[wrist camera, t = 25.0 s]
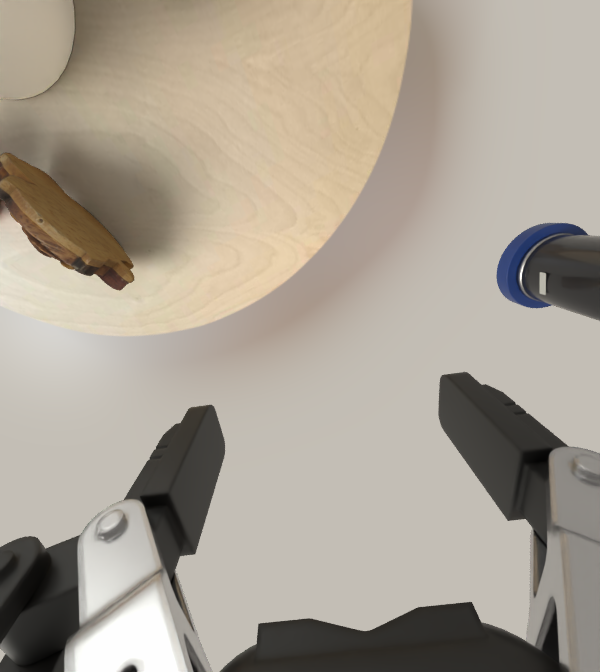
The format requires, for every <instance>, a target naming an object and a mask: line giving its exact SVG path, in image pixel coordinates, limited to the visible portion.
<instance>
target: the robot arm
mask: <svg viewBox="0 0 600 672" xmlns="http://www.w3.org/2000/svg"><path fill="white" fill-rule="evenodd" d="M516 281H517V286H518V288H519V290H520V291H521V293H522V294H523V295H525V296H526V297H528V298H530V299H533V300H536V301H541V302H545V303H548V304H551V305H554V306H556V307H560V308H563V309H566V310H569V311H572V312H575V313H578V314H581V315H584V316H587V317H590V318H593V319H596V320H600V236H590V235H574V234H567V233H557V234H552V235H549V236H546V237H544V238H542V239H540V240H539V241H537V242H536V243H534V244H533V245H532V246H531V247H530V248H529V249H528V250H527V251H526V253H525V254H524V255H523V257H522V259H521V260H520V263H519V265H518V268H517V273H516ZM439 391H440V392H439V419H440V423H441V426H442V428H443V430H444V431H445V433H446V434H447V436H448V437H449V438H450V440H451V441H452V443H453V444H454V445H455V447H456V448H457V450H458V451H459V453H460V454H461V455H462V457H463V458H464V459H465V461H466V462H467V464H468V465H469V467H470V468H471V469H472V471H473V472H474V473H475V475H476V476H477V478H478V479H479V481H480V482H481V483H482V485H483V486H484V488H485V489H486V490H487V492H488V493H489V495H490V496H491V497H492V499H493V500H494V502H495V503H496V505H497V506H498V507H499V509H500V510H501V511H502V513H503V514H504V516H505V517H506V519H507V520H508V521H510V520H518V519H526V520H527V521H528V522H529V524H530V525H531V526H532V530H531V536H530V538H531V539H530V543H531V544H530V608H529V619H528V627H527V636H526V641H525V640H523V639H522V638H520V637H518V636H516V635H514V634H511V633H510V632H508V631H505V630H503V629H501V628H498V627H495V626H492V625H489V624H486V623H481V621H480V619H479V617H478V615H477V612H476V610H475V608H474V606H473V604H472V602H467V603H456V604H446V605H438V606H427V607H418V608H416V609H414V610H412V611H410V612H408V613H406V614H404V615H402V616H399V617H398V618H395V619H393V620H391V621H389V622H387V623H385V624H383V625H381V626H379V627H377V628H375V629H373V630H370V631H360V630H355V629H351V628H347V627H343V626H339V625H335V624H331V623H327V622H322V621H318V620H314V619H299V620H290V621H280V622H271V623H260V624H259V625H258V635H257V644H256V645H254V646H252V647H250V648H248V649H247V650H245V651H244V652H242V653H241V654H239V655H238V656H236V657H235V658H234V659H233V660H232V661H231V662H229V663H228V664H227V665H226V666H225V667H224V668H223V669H222V670H221V671H220V672H600V454H599V453H597V452H594V451H591V450H587V449H583V448H578V447H569V446H567V445H566V444H565V443H563V442H562V441H561V440H560V439H559V438H558V437H556V436H555V435H554V434H553V433H552V432H550V431H549V430H548V429H547V428H545V427H544V426H543V425H541V424H540V423H539V422H538V421H537V420H536V419H534V418H533V417H532V416H531V415H530V414H527V413H526V411H525V410H524V409H522V408H521V407H520V406H519V405H516V404H515V402H514V401H513V400H511V399H510V398H509V397H508V396H507V395H505V394H504V393H503V392H501V391H499V390H496V389H495V388H492V387H490V386H488V385H486V384H485V385H481V384H480V383H479V382H478V381H477V380H475V379H474V378H473V377H472V376H471V375H470V374H468V373H467V372H463V373H454V374H447V375H442V377H441V378H440V390H439ZM224 455H225V441H224V437H223V434H222V431H221V427H220V424H219V421H218V418H217V414H216V411H215V408H214V407H213V406H212V405H206V406H199V407H191V408H189V409H188V411H187V413H186V414H185V416H184V418H183V420H182V421H181V423H179V424H175V425H174V426H173V427H172V428H171V429H169V430H168V431H167V432H166V433H165V434H164V435H163V437H162V438H161V440H160V441H159V443H158V445H157V446H156V450H154V451H153V453H152V455H151V457H150V460H148V461H147V463H146V464H145V466H144V468H143V469H142V471H141V472H140V474H139V476H138V477H137V479H136V481H135V482H134V484H133V485H132V487H131V489H130V490H129V492H128V494H127V496H126V497H125V499H124V500H123V501H119V502H117V503H114V504H112V505H110V506H109V507H107V508H106V509H104V510H103V511H101V512H100V513H99V514H97V515H96V516H95V517H94V518H93V519H92V520H91V521H90V522H89V523H88V525H87V526H86V527H85V529H84V530H83V532H82V533H81V535H79V536H76V537H74V538H71V539H69V540H66V541H64V542H61V543H59V544H56V545H54V546H51V547H49V548H46V549H45V547H44V546H43V545H42V543H41V542H40V541H39V539H38V538H36V537H31V536H29V537H23V538H19V539H16V540H14V541H12V542H9V543H7V544H5V545H4V546H2V547H0V649H1V650H3V652H4V653H6V654H5V656H4V658H3V659H2V661H1V663H0V672H212V669H211V667H210V664H209V662H208V659H207V657H206V655H205V652H204V650H203V648H202V645H201V642H200V640H199V637H198V634H197V631H196V628H195V625H194V622H193V619H192V617H191V613H190V610H189V607H188V604H187V601H186V599H185V596H184V593H183V590H182V587H181V584H180V581H179V578H178V575H177V573H176V571H175V569H176V566H177V563H178V560H179V557H180V556H184V555H193V554H195V553H196V549H197V546H198V543H199V539H200V536H201V533H202V529H203V526H204V523H205V519H206V516H207V513H208V509H209V506H210V503H211V499H212V496H213V493H214V489H215V486H216V482H217V479H218V476H219V473H220V469H221V466H222V462H223V459H224Z"/></svg>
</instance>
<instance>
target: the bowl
mask: <svg viewBox="0 0 600 672" xmlns="http://www.w3.org/2000/svg"><path fill="white" fill-rule="evenodd" d="M74 33H75V19H74V5H73V0H0V99H13V100H19V99H25V98H30V97H34V96H36V95H38V94H40V93H42V92H44V91H46V90H47V89H48V88H49V87H51V86H52V85H53V84H54V83H55V82H56V81H57V80H58V79H59V77H60V76H61V74H62V72H63V71H64V69H65V68H66V66H67V63H68V60H69V57H70V54H71V52H72V47H73V40H74Z"/></svg>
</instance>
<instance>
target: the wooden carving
mask: <svg viewBox="0 0 600 672" xmlns="http://www.w3.org/2000/svg"><path fill="white" fill-rule="evenodd" d="M0 199H1V200H3V201H5V203H6V206H7V208H8V210H9V211H10V214H11V216H12V217H13V218H14V219H15V220H16V221H17V222H18V223H20V224H21V225H22V229H23V232H24V233H25V234H26V235H27V237H28V239H29V241H30V242H31V243H32V245H33V246H34V247H35V248H36V249H37V250H38V252H40V253H41V254H43V255H45V256H48V257H53V258H55V259H57V260H59V261H60V263H61V264H62V265H63V266H64V267H66V268H68V269H75V270H76V271H77V272H79V273H81V274H84V275H87V276H91V275H93V274H97V275H98V276H99V277H100V278H101V279H102V280H103V281H104V282H105V283H106V284H107V285H109V286H110V287H112V288H113V289H116V290H121V289H123V288H124V287H125V286H126V285H127V284H128V283H131V282H133V281H134V275H133V273H132V272H131V270H130V269H132V268H133V267H134V265H133V263H132V261H131V260H130V258H129V257H128V256H127V254H126V253H125V251H124V250H123V249H122V247H121V246H120V245H119V243H118V242H117V241H116V240H115V238H114V237H113V236H112V235H111V234H110V233H109V232H108V231H107V230H106V228H105V227H104V226H103V225H102V224H101V223H100V222H99V221H98V220H97V219H96V218H94V217H93V216H92V215H91V214H90V213H89V212H88V211H87V210H86V209H84V208H83V207H82V206H81V205H80V204H78V203H77V202H76V201H74V200H73V199H72V198H70V197H69V196H68V195H67V194H66V193H65V192H64V191H63V190H62V189H61V188H60V187H59V185H58V184H57V183H56V182H55V181H54V180H53V179H52V178H51V177H50V176H49V175H47V174H46V173H45V172H43V171H42V170H40V169H38V168H36V167H33V166H31V165H30V164H28V163H26V162H24V161H22V160H20V159H18V158H17V157H15V156H14V155H12V154H10V153H3V154H2V155H1V156H0Z"/></svg>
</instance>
